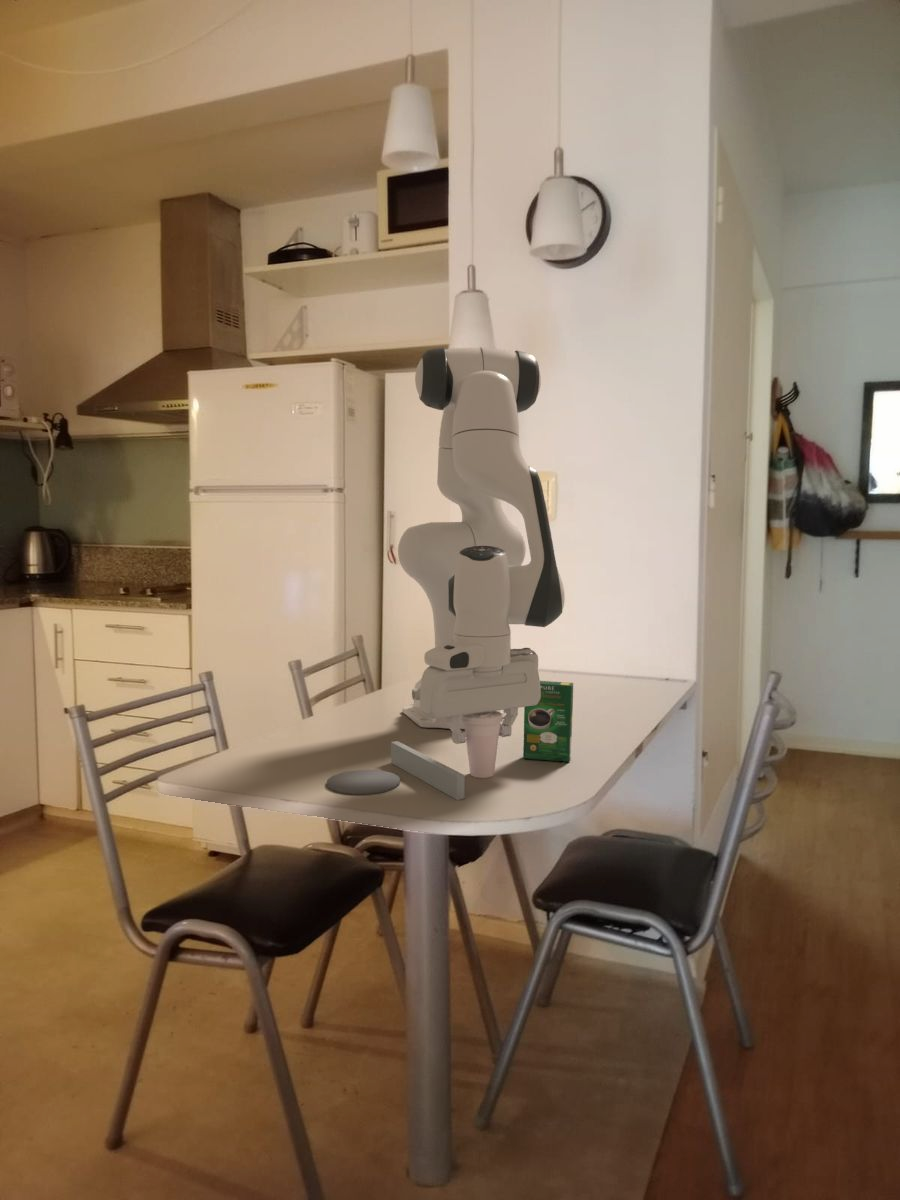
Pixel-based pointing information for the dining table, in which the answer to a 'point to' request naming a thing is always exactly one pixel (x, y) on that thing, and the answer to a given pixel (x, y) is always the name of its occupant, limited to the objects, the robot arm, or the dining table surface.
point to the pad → (363, 782)
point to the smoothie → (482, 741)
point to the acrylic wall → (428, 770)
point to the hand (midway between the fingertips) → (482, 739)
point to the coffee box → (549, 723)
